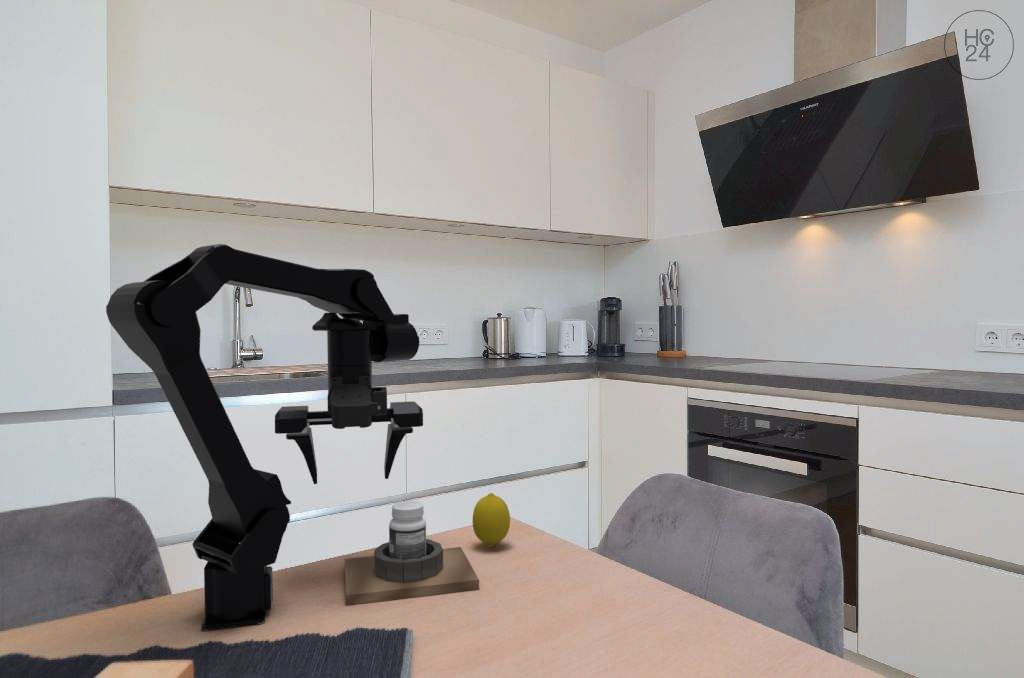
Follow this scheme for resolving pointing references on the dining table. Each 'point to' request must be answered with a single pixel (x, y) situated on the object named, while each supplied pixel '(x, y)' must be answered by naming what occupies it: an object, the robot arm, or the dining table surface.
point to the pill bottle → (407, 531)
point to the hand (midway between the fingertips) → (351, 480)
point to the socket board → (408, 575)
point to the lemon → (491, 519)
